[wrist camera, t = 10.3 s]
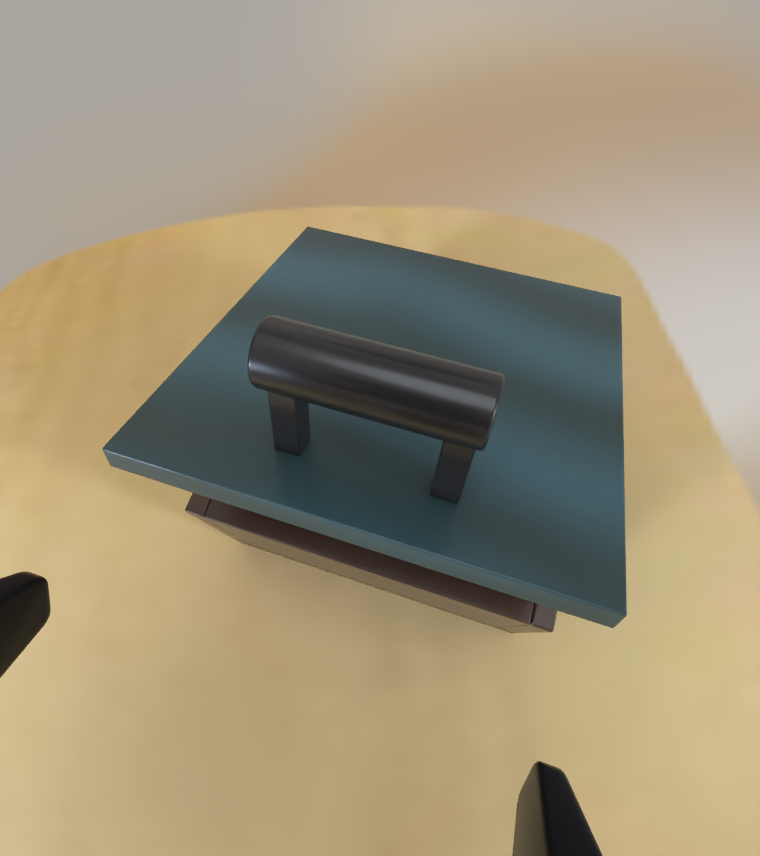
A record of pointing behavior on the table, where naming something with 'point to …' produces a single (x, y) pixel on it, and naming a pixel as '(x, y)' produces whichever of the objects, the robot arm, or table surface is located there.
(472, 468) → the lid
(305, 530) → the box
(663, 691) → the table surface
